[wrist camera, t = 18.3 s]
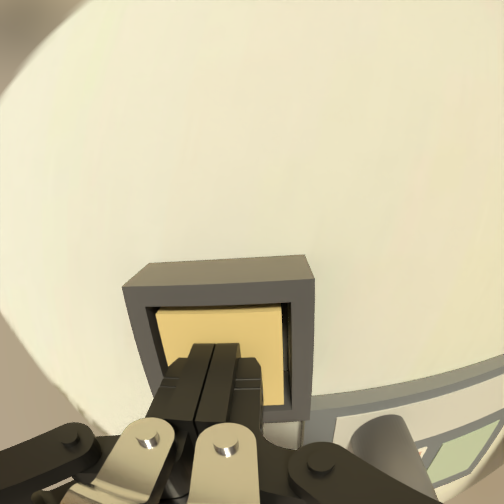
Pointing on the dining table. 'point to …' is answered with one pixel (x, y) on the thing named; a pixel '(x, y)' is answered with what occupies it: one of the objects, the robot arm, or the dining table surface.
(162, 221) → the dining table surface
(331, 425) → the grey sectioned board
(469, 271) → the dining table surface
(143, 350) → the button housing
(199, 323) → the button cap
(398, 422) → the marker
